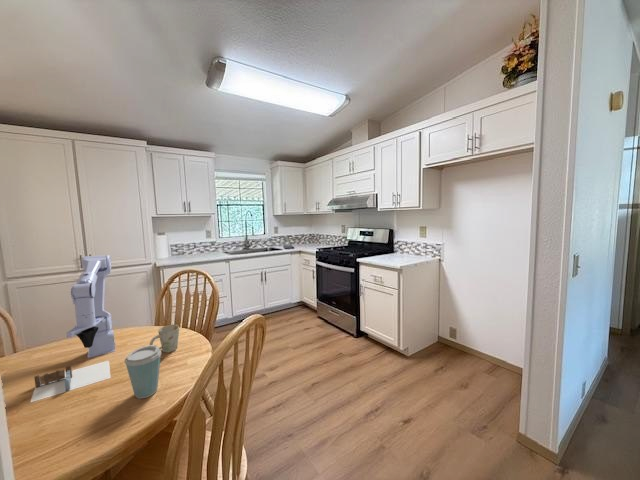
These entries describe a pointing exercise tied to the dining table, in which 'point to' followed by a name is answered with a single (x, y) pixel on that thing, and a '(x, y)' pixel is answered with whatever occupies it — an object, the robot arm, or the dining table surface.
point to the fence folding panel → (67, 380)
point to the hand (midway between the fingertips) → (88, 346)
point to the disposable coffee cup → (144, 370)
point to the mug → (168, 338)
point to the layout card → (74, 380)
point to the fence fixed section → (51, 377)
